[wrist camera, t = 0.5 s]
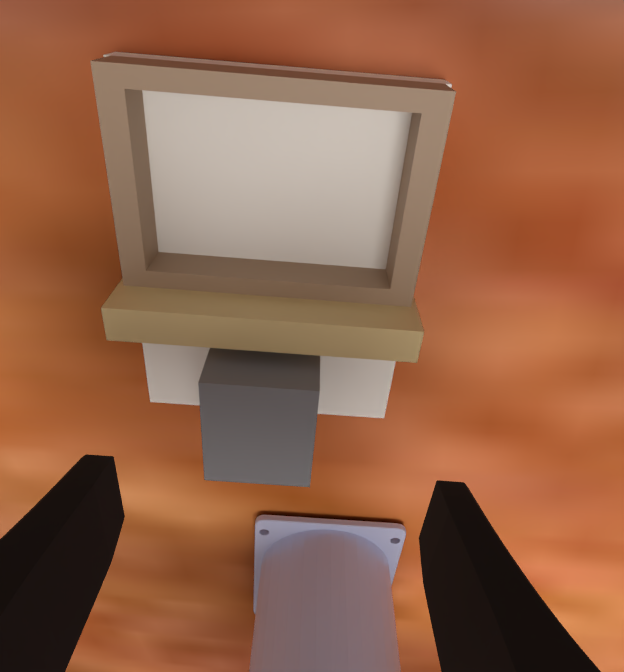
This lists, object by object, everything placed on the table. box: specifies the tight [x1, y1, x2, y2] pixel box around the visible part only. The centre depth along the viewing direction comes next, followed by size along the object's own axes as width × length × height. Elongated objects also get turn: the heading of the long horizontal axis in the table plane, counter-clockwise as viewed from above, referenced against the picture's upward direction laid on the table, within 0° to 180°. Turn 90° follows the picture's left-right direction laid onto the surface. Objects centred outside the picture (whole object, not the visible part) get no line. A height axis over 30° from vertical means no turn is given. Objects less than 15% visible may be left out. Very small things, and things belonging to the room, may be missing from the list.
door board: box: [91, 52, 456, 418], centre depth 17 cm, size 13×10×4 cm
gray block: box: [198, 348, 320, 487], centre depth 19 cm, size 4×4×4 cm
